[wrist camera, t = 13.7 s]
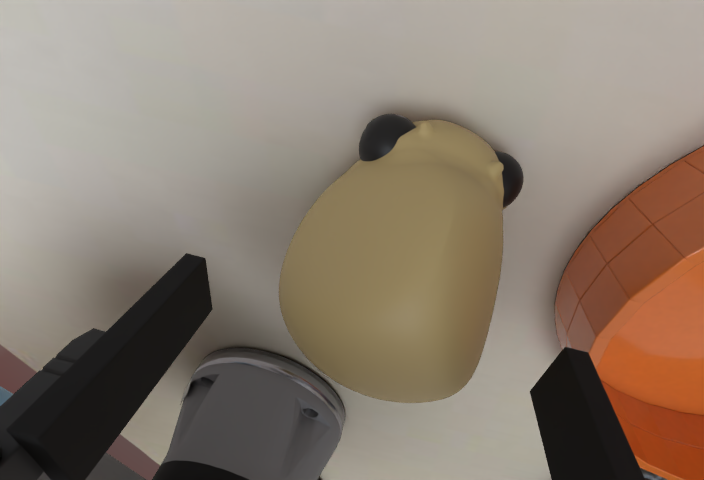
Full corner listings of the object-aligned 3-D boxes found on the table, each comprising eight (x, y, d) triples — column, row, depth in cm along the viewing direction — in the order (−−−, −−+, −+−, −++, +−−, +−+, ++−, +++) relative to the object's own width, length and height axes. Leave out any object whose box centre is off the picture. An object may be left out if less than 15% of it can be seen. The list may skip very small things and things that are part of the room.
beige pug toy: (480, 210, 22) (638, 133, 12) (418, 395, 20) (548, 505, 9) (340, 147, 21) (376, 8, 11) (259, 331, 19) (206, 373, 9)
